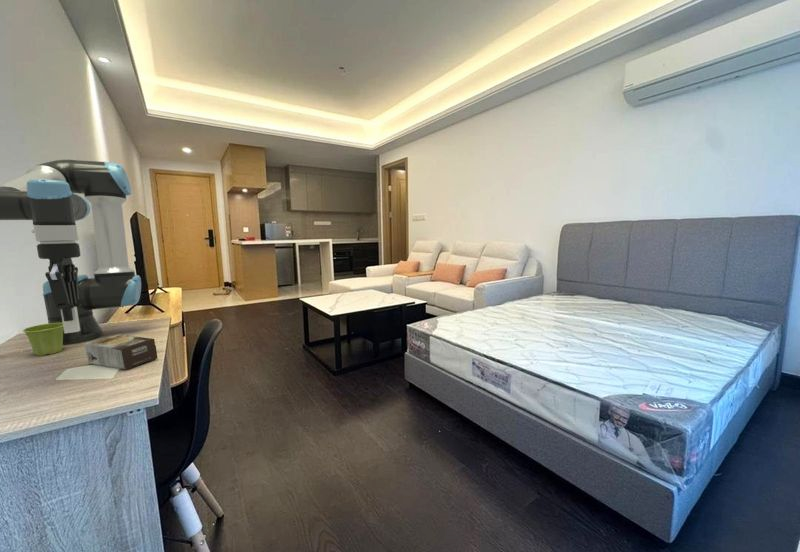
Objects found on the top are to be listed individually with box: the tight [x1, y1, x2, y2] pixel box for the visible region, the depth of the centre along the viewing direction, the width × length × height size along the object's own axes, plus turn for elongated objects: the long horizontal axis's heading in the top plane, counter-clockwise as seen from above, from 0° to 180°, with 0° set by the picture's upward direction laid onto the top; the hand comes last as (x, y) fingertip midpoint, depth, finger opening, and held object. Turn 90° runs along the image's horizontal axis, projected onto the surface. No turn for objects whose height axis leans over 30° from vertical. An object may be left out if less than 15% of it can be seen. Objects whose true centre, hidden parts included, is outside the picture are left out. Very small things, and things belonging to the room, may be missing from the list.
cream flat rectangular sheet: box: [55, 364, 121, 381], centre depth 87 cm, size 18×13×1 cm
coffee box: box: [84, 334, 158, 370], centre depth 97 cm, size 9×6×16 cm
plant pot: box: [22, 323, 64, 357], centre depth 105 cm, size 9×9×9 cm
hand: (72, 331), depth 86 cm, fingers closed
